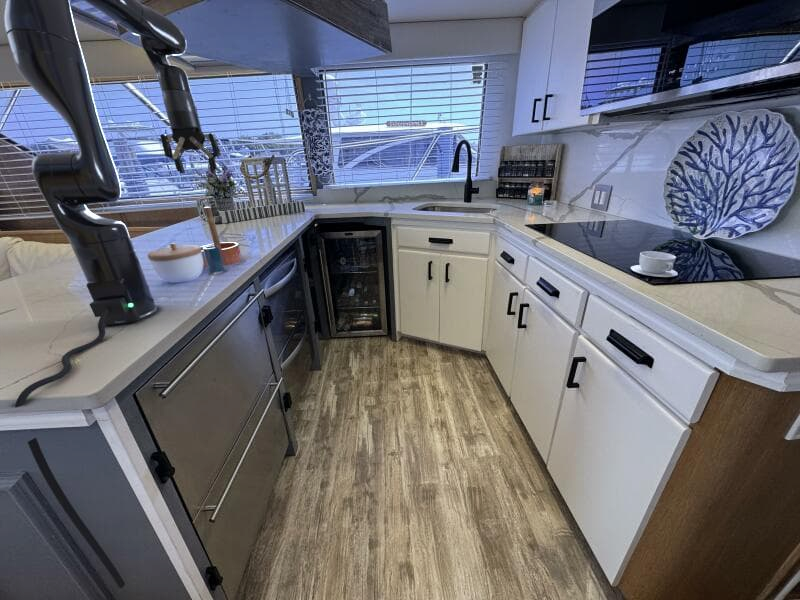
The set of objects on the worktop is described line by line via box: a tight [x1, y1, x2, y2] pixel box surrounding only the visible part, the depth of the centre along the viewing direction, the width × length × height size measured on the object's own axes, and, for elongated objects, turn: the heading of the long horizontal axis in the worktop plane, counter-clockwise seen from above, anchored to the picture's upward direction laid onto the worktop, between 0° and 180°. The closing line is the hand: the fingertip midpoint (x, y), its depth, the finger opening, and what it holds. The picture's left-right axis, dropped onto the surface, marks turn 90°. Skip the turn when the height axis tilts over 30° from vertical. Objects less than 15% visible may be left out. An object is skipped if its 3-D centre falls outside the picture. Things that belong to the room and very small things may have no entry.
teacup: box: [630, 251, 679, 278], centre depth 83 cm, size 10×10×5 cm
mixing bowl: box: [200, 241, 243, 268], centre depth 107 cm, size 12×12×6 cm
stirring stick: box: [203, 206, 221, 250], centre depth 105 cm, size 2×2×18 cm
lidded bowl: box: [147, 242, 205, 284], centre depth 91 cm, size 13×13×11 cm
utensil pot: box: [203, 245, 226, 273], centre depth 98 cm, size 4×4×8 cm
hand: (198, 172), depth 97 cm, fingers open, 8 cm apart
